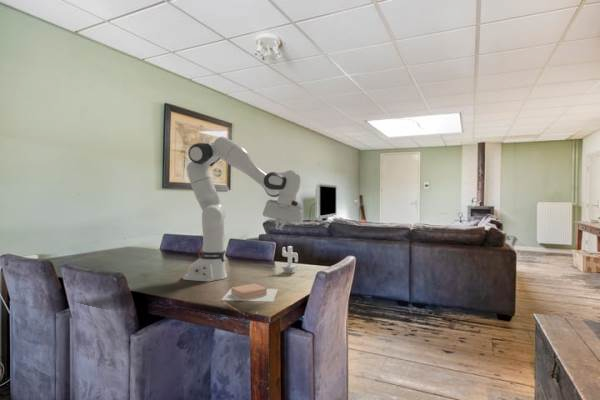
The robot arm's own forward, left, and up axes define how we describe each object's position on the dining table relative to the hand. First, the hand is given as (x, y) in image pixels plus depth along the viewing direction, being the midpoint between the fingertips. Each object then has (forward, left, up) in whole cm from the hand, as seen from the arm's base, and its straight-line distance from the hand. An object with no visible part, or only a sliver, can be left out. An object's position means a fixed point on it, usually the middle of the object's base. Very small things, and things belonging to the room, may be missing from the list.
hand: (278, 229), depth 162 cm
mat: (-10, -16, -28) cm, 34 cm away
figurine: (+4, +29, -28) cm, 40 cm away
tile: (-6, -14, -26) cm, 30 cm away
